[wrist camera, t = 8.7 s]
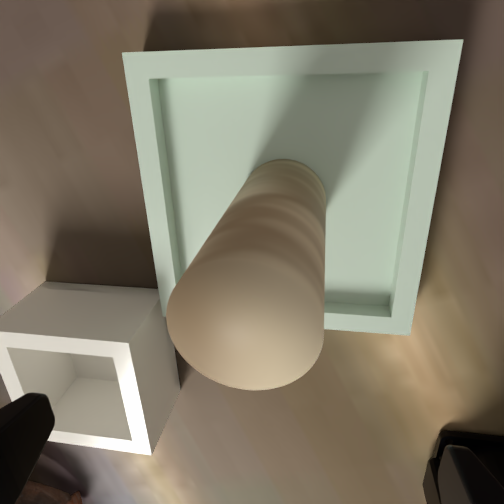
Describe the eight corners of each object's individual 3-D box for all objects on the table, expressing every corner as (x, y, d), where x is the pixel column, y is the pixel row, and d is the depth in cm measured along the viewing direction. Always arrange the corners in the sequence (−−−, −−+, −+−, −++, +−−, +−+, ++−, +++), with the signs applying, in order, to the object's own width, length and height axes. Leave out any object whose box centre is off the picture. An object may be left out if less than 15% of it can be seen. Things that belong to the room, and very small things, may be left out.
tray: (447, 42, 16) (463, 39, 14) (402, 312, 21) (409, 335, 19) (142, 53, 18) (121, 52, 16) (174, 297, 23) (162, 316, 22)
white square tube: (166, 289, 23) (128, 343, 19) (180, 389, 27) (151, 455, 22) (44, 281, 25) (-17, 329, 20) (73, 378, 28) (26, 437, 24)
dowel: (328, 159, 17) (329, 264, 9) (323, 241, 19) (319, 398, 10) (240, 158, 18) (156, 253, 9) (243, 237, 20) (174, 381, 11)
